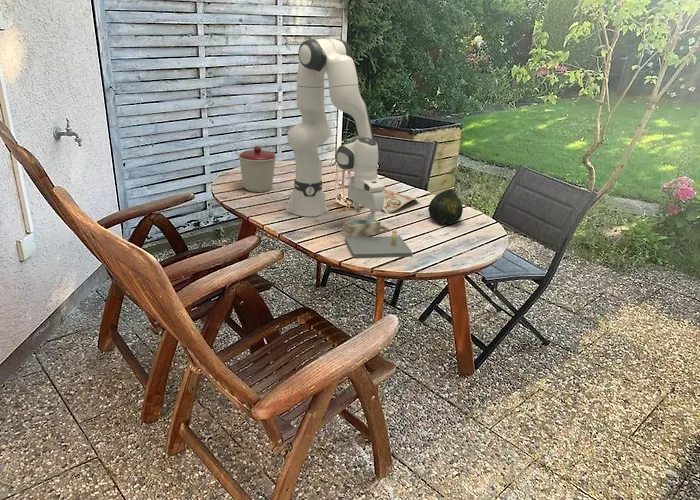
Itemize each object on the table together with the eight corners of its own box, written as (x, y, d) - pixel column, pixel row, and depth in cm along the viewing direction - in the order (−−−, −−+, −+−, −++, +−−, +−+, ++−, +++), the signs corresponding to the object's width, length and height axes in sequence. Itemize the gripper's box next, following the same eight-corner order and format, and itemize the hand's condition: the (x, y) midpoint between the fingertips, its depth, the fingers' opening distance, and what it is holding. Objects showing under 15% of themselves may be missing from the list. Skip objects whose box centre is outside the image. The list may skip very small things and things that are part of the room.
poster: (423, 208, 255) (374, 192, 272) (426, 196, 253) (376, 180, 270) (390, 217, 234) (339, 199, 251) (393, 204, 232) (341, 186, 249)
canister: (232, 186, 258) (231, 143, 250) (266, 182, 268) (266, 140, 260) (247, 196, 245) (247, 151, 237) (283, 192, 254) (283, 148, 246)
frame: (349, 238, 205) (350, 226, 203) (342, 233, 209) (343, 221, 207) (389, 231, 215) (390, 219, 212) (381, 227, 219) (382, 215, 217)
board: (344, 240, 203) (345, 222, 200) (399, 239, 207) (401, 222, 204) (353, 258, 188) (354, 238, 185) (412, 256, 193) (414, 237, 190)
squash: (424, 213, 221) (452, 189, 218) (420, 203, 235) (446, 180, 232) (447, 236, 225) (474, 212, 221) (441, 225, 239) (467, 202, 235)
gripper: (344, 176, 208) (343, 209, 214) (373, 189, 192) (371, 224, 198) (357, 174, 211) (356, 207, 217) (387, 187, 195) (385, 222, 201)
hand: (364, 215), depth 207 cm, fingers open, 8 cm apart
